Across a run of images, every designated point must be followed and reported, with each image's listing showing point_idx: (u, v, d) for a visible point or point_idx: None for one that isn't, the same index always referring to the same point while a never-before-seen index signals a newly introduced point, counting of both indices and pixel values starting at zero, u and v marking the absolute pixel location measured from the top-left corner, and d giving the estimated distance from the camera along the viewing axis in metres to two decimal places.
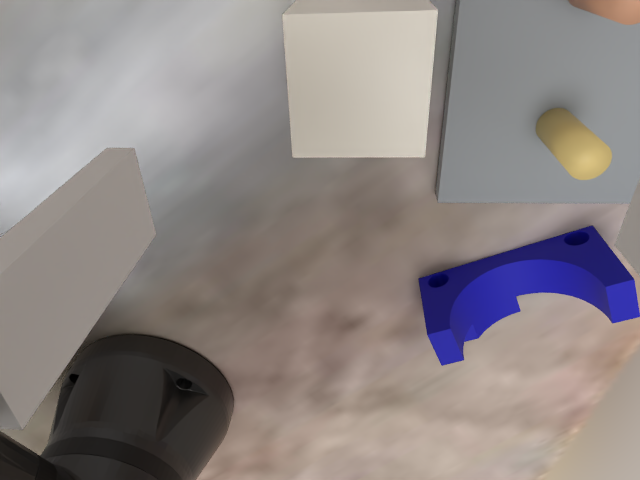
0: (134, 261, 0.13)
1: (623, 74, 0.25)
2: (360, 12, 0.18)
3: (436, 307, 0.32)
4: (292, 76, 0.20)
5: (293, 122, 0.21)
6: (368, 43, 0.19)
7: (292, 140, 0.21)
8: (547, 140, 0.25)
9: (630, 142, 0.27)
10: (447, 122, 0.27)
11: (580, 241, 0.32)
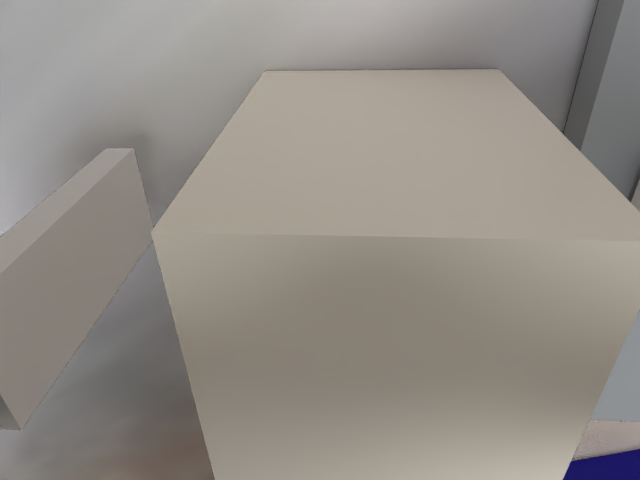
0: (134, 261, 0.13)
1: None
2: (403, 233, 0.06)
3: None
4: (201, 366, 0.07)
5: (215, 447, 0.08)
6: (423, 311, 0.06)
7: (216, 473, 0.09)
8: None
9: None
10: None
11: None
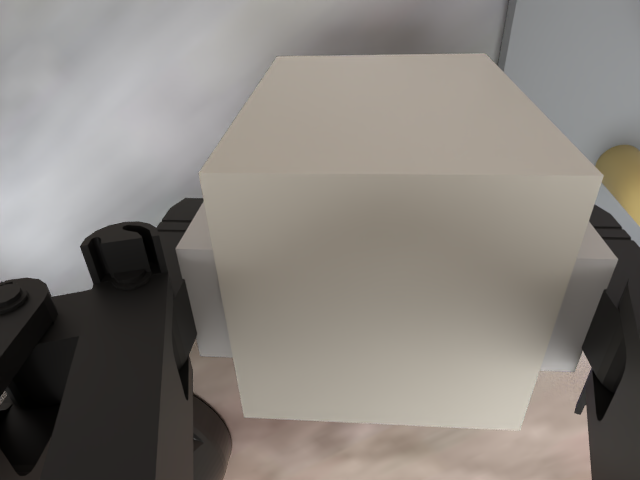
0: None
1: None
2: (397, 172, 0.07)
3: None
4: (234, 291, 0.09)
5: (241, 366, 0.10)
6: (414, 238, 0.08)
7: (241, 393, 0.10)
8: (613, 186, 0.21)
9: None
10: None
11: None
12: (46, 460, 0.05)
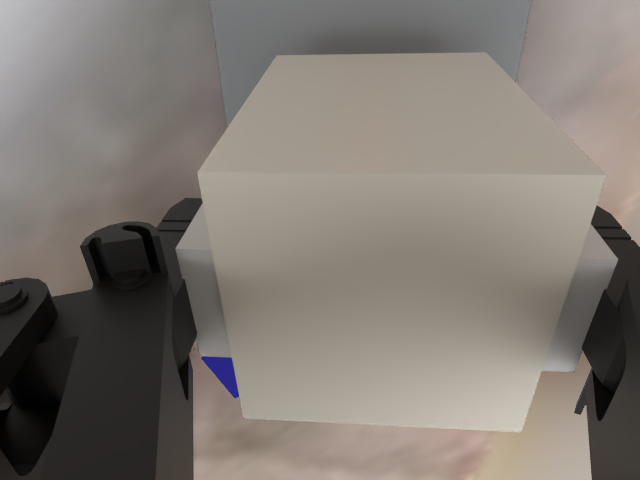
0: None
1: (443, 33, 0.18)
2: (398, 171, 0.07)
3: None
4: (233, 291, 0.09)
5: (241, 367, 0.10)
6: (415, 238, 0.08)
7: (241, 394, 0.10)
8: None
9: None
10: (224, 100, 0.20)
11: None
12: (46, 460, 0.05)
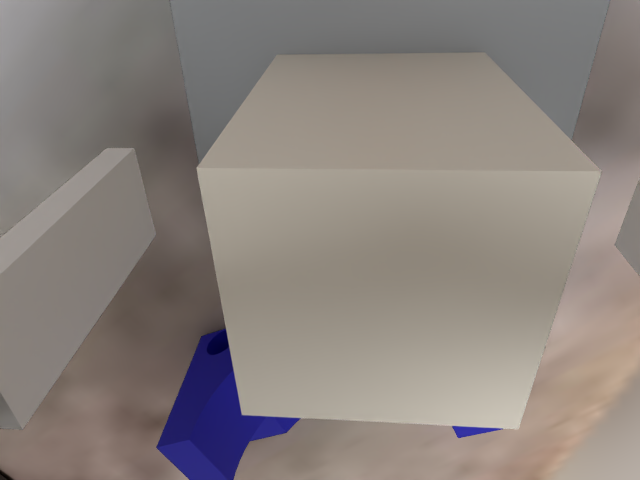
0: (134, 261, 0.13)
1: None
2: (395, 167, 0.07)
3: (193, 393, 0.19)
4: (231, 287, 0.09)
5: (239, 363, 0.10)
6: (412, 234, 0.08)
7: (239, 390, 0.10)
8: None
9: None
10: (196, 142, 0.16)
11: None
12: None
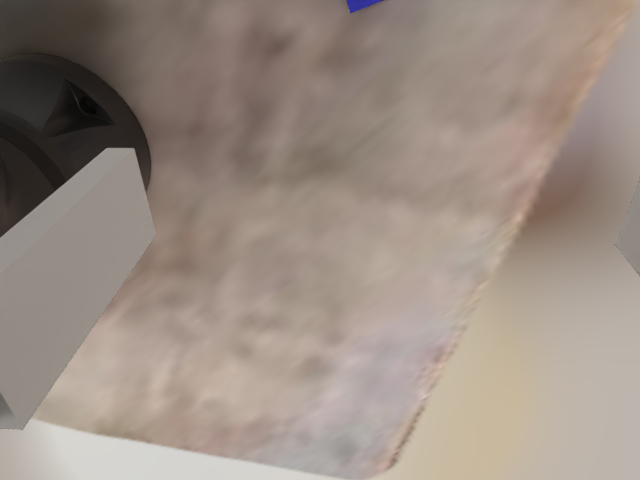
0: (134, 261, 0.13)
1: None
2: None
3: None
4: None
5: None
6: None
7: None
8: None
9: None
10: None
11: None
12: None
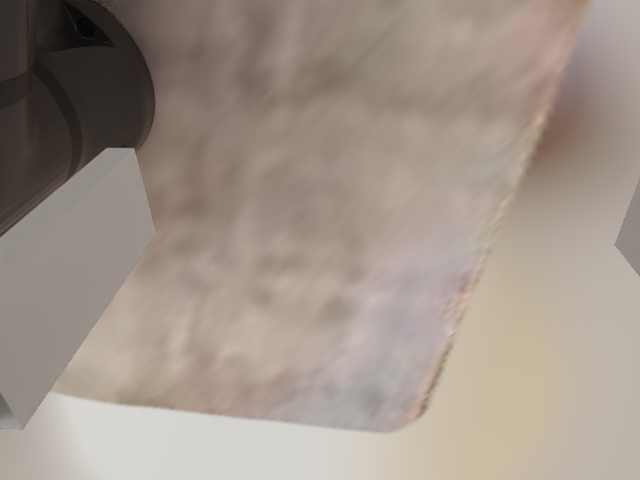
0: (134, 261, 0.13)
1: None
2: None
3: None
4: None
5: None
6: None
7: None
8: None
9: None
10: None
11: None
12: None
